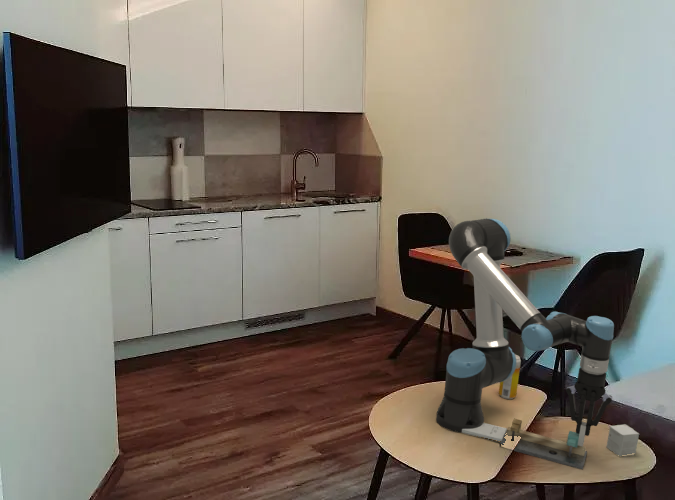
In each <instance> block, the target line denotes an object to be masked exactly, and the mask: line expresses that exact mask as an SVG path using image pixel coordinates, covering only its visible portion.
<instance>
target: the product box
mask: <svg viewBox="0 0 675 500" xmlns="http://www.w3.org/2000/svg"><path fill="white" fill-rule="evenodd" d="M608 431H609V432H608V436H607V441H606V442H607V443H606V448H607V449H608V450H609V451H611V452H612V451H613V452H614V453H613V454H615V455H616V454H617V455H619V456H622V455H627V454H632V453H635V454H636V453H637V446H638V443H639V442H638V441H639V436H640V433H639V432H637V431H636V430H634V428H632V427H630V426H629V425H628V424H625V423H624V424H617V425H610V426H609V430H608ZM617 455H616V456H617Z"/></svg>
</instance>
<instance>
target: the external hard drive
mask: <svg viewBox="0 0 675 500" xmlns="http://www.w3.org/2000/svg"><path fill="white" fill-rule="evenodd" d="M507 429H508V427H502V426H499V425H495V424H490V423H486V422H484V423H483V424H482V425H481V426H480V427H477V428H473V429H462V433H461V434H464V435H469V436H473V437H477V436H478V437H477V438H481V437H484V438H483V439H485V438H488V439H487V440H489V439H493V440H497V441H502V439H503V437H504V435H505V433H506V431H507ZM493 440H492V441H493ZM497 441H496V442H497Z"/></svg>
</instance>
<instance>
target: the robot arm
mask: <svg viewBox="0 0 675 500" xmlns="http://www.w3.org/2000/svg"><path fill="white" fill-rule="evenodd" d="M510 244H511V233H510V230H509V228H508V227H507V225H506V224H504V222H503V221H501V220H499V219H497V218H487V217H486V218H480V219H473V220H465V221H461V222H459V223H458V224H456V225H455V226H454V227H453V228H452V230H451V231H450V234H449V237H448V246H449V249H450V250H449V251H450V252H451V255H452V256H453V258H454V260H455V261H456V262H457V264H458V265H459V266H460V267H461V268H462V269H463V270H468V271H469V272H470V273H471V274H472V276H473V287H474V288H473V289H474V309H475V327H476V329H475V330H476V338H475V340H473V341H472V348H471V347H467V348H464V347H462V348H458V349H455V350H453V351H452V352H451V353H450V354H449V355H448V359H447V363H446V372H445V384H444V390H443V391H444V393H443V398H442V400H441V402H440V404H439V406H438V408H437V410H436V415H435V420H436V421H435V422H437V424H438V425H439V426H440V427H442V428H444V429H445V430H448V431H451V432H455V433H460V434H463V433H462V429H473V428H477V427H480V426H481V425H482V424H483V423H485V416H484V413H483V408H482V404H481V403H482V392H483V389H484V388H486V387H489V386H492V385H495V384H498V383H499V384H500V382H503V381H504V380H506V379H508V378H509V377H510V376H511V375H512V374H513V373H514V371H515V369H516V357H515V355H516V353H515V352H513V349H512V348H511V347H510V345H509V341H508V340H507V339H506V338H505V337H504V322H503V311H504V313H505V314H506V315H507V316H508V317H509V319H511V321H512V322H513V323H514V324H515V325H516V326H517V327H518V329H519V330H520V331H521V340H522V343H523V345H524V346H525V348H527V349H528V350H529V351H533V352H540V351H544V350H547V349H550V348H552V347H555V346H558V345H562V344H563V343H570V344H573V345H576V346H578V347H581V349H582V350H581V355H580V360H579V368H578V373H577V380H576V382H575V383H574V385H568V386H567V387H566V389H565V392H566V393H567V396H568V402H569V411H570V419H571V421H574V422H575V423H576V428H575V432H576V433H578V434H579V439H578V445H579V446H582V447H583V446H584V443H585V438H586V436H587V437H589V436H590V433H591V427H593V426H594V427H597V426H599V425H598V424H599V423H600V420H601V419H602V416H603V414H604V412H605V410H606V408H607V406H609V404H610V403H612V401H613V396H612V394H611V395H610V394H608V393H607V391H606V390H607V389H606V388H605V385H606V380H607V379H606V378H607V372H608V370H609V369H608V368H609V367H608V366H609V364H610V363H609V361H610V354H611V348H612V344H613V339H614V331H615V329H614V328H615V324H614V322H613V321H612V319H609V318H607V317H604V316H598V315H591V316H589V317H587V319H586V320H584V319H581V318H579V317H575V316H573V315H570V314H567V313H564V312H558V311H551V312H550V313H549V315H547V317H545V316H544V315H543V314H542V313H541V312H540V311H539V309H537V308H536V306H535V305H534V304H533V303H532V302H531V301H530V300H529V298H527V296H526V295H525V294H524V293H523V292H522V290H520V288H519V287H518V286H517V285H516V284H515V283H514V282H513V280H512V279H510V277H509V276H508V275H507V273H505V272H504V271H503V270H502V268H501V264H502V263H503V262H504V261H505V252H506V250H508V248H509V246H510ZM576 392H577V395H578V396H579V397H580V404H579V409H578V414H577V409H576V397H575V393H576ZM600 398H602V402H601V405H600V407H599V409H598V412H597V413H596V415H595V418H594V419H593V416H594V410H595V409H594V408H595V403H596V401H597V402H598V400H599V399H600ZM586 401H589V407H588V412H587V418H586V421H583V418H584V413H585V407H586V406H585V405H586Z"/></svg>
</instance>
